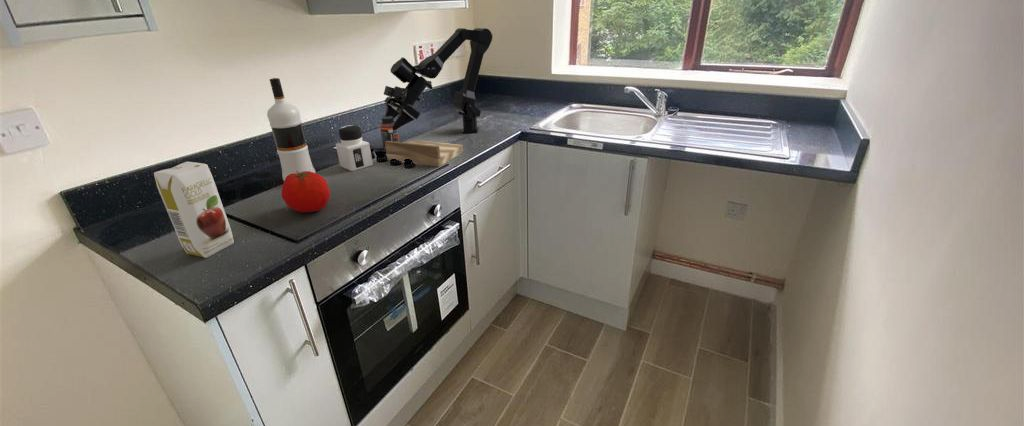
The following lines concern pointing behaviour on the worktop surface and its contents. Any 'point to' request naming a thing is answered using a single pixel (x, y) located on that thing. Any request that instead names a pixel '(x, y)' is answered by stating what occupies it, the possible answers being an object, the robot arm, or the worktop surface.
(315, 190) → the tomato
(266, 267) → the worktop surface
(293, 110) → the vodka
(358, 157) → the container
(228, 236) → the juice carton
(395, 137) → the supplement bottle
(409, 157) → the wooden block
